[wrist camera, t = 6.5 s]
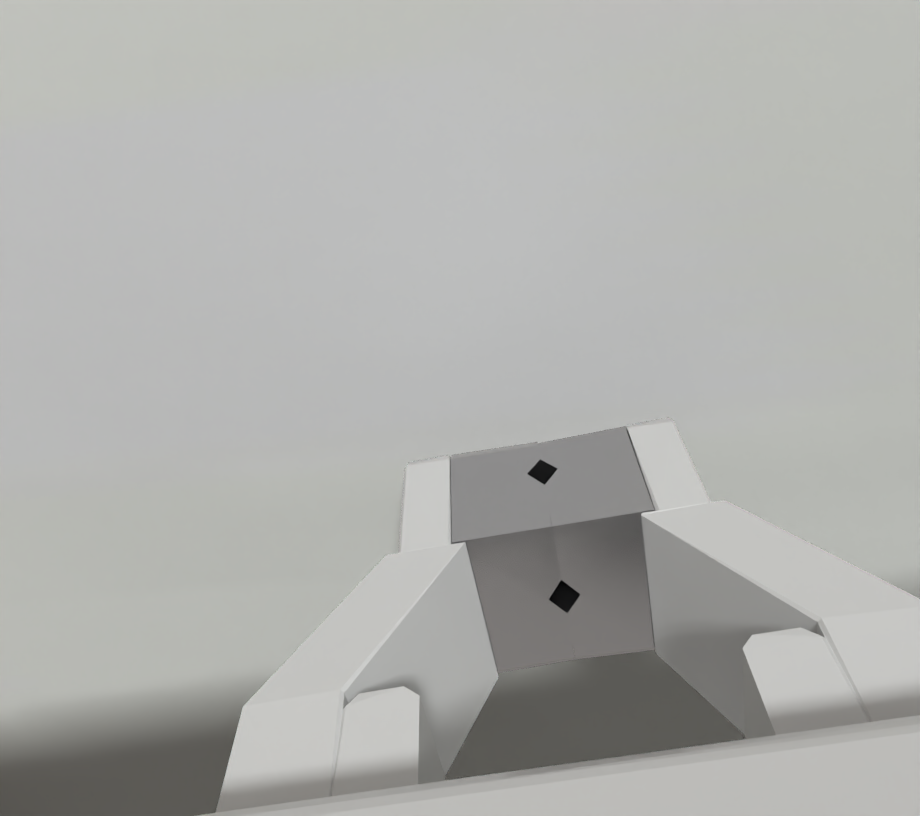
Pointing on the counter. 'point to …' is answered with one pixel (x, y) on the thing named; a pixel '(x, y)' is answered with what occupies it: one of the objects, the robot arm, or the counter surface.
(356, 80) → the counter surface
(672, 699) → the counter surface
